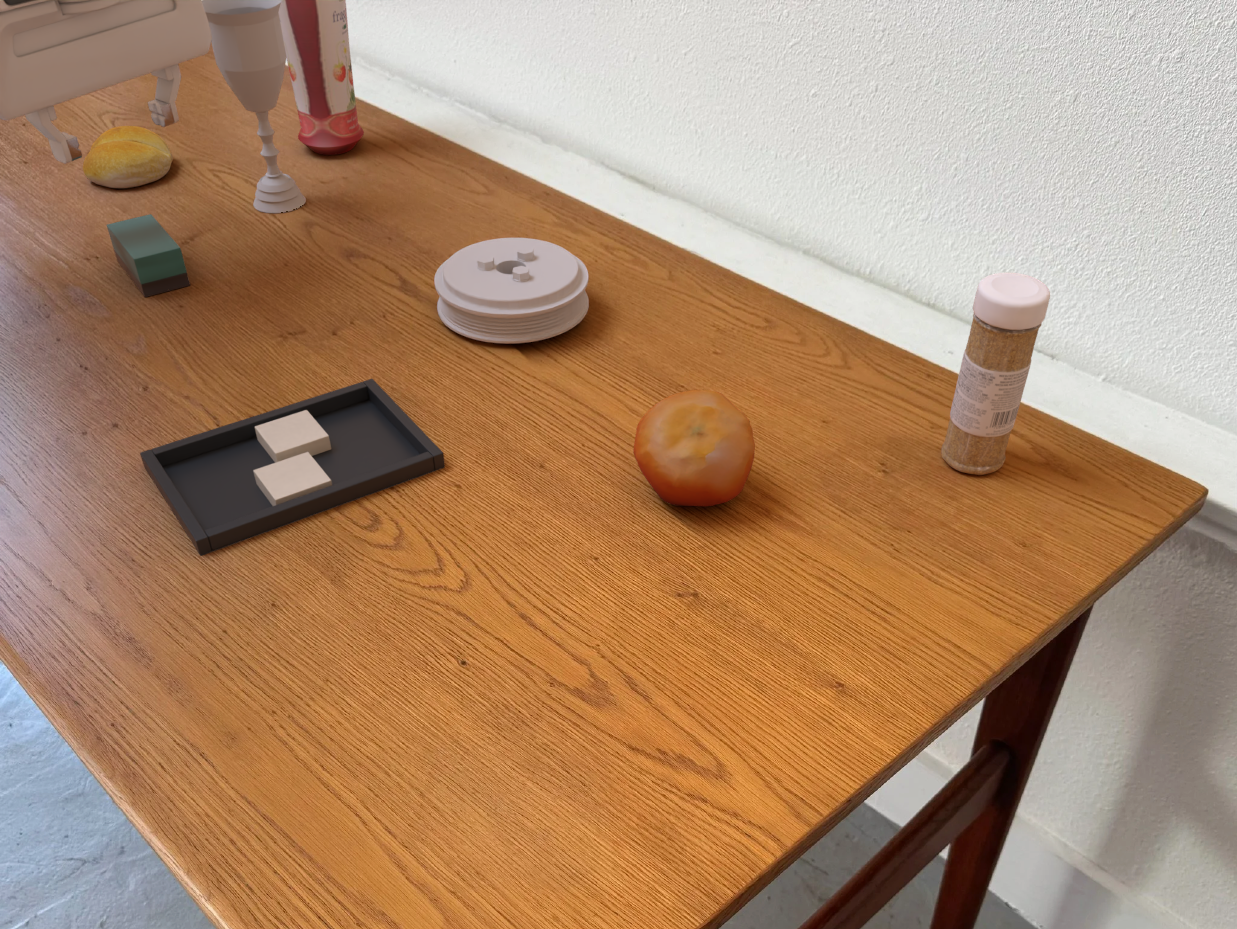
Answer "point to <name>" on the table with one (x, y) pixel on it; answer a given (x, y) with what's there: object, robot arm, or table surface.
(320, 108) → the red and white bottle
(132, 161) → the bread roll
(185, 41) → the robot arm
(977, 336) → the sprinkles bottle
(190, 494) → the tray
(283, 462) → the chip
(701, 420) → the fruit
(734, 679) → the table surface
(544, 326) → the lid
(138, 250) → the eraser
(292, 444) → the chip
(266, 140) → the chalice
